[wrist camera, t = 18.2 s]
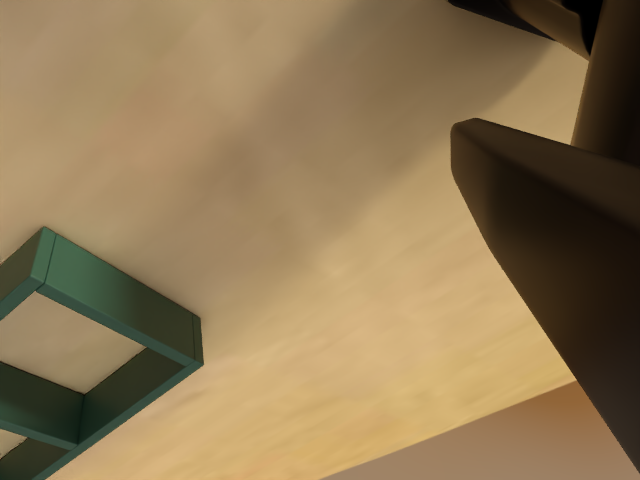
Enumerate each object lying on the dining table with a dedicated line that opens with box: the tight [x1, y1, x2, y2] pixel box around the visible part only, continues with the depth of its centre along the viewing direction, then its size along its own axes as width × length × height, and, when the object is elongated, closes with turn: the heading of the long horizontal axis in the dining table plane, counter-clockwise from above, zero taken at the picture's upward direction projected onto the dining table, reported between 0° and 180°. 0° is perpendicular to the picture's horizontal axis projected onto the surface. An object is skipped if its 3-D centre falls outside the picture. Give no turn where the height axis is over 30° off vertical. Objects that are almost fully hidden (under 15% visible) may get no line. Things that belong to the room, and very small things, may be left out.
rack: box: [0, 227, 204, 480], centre depth 26 cm, size 17×9×3 cm, turn 128°
